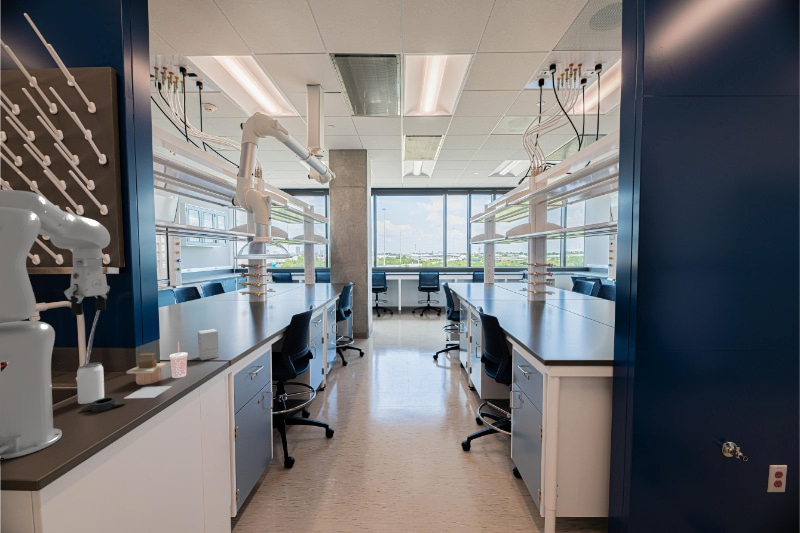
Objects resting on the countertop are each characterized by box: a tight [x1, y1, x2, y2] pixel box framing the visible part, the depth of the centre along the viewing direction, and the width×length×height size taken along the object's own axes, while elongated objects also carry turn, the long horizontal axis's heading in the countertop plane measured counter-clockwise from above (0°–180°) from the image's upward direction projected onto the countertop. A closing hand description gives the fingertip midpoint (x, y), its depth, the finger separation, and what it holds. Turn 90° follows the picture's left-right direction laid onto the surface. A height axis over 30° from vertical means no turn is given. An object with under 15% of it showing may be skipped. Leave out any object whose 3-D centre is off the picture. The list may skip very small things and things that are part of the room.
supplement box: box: [197, 328, 219, 361], centre depth 160 cm, size 7×7×13 cm
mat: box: [123, 385, 173, 400], centre depth 118 cm, size 10×10×1 cm
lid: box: [126, 352, 168, 375], centre depth 129 cm, size 9×9×6 cm
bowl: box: [135, 368, 162, 386], centre depth 129 cm, size 8×8×5 cm
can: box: [76, 362, 105, 405], centre depth 112 cm, size 6×6×12 cm
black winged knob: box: [80, 396, 127, 413], centre depth 106 cm, size 8×10×3 cm
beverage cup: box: [169, 341, 189, 379], centre depth 134 cm, size 6×6×14 cm
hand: (89, 312), depth 119 cm, fingers open, 9 cm apart
